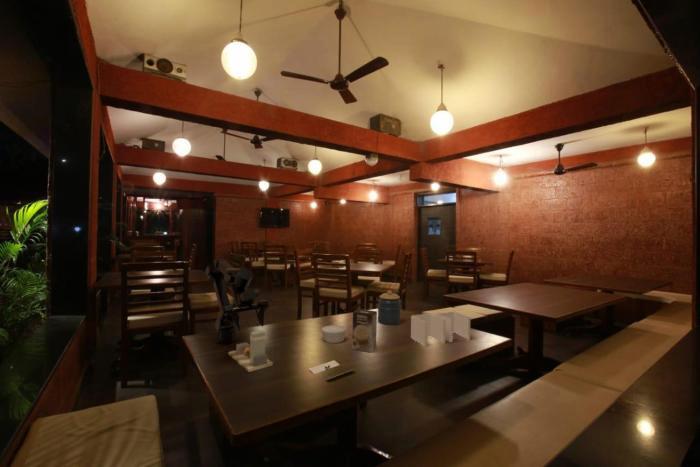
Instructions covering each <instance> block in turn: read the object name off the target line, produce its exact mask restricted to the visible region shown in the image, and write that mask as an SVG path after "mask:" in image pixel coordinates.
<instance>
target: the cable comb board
mask: <svg viewBox="0 0 700 467" xmlns="http://www.w3.org/2000/svg"><path fill="white" fill-rule="evenodd" d="M228 356H230V357H231V358H232V359H233V360H235V361H236V362H237V363H238V365H240V366H241V367H242V368H244V369H245V370H246V371H248V373H250V372H253V371H258V370H261V369H264V368H267V367H271V366H273V364H274V362H273V361H272V360H270V359H268V358H267V364H264V365H260V366H257V367H253V364H252V363H250V355H248V356H245V355H244V354H239V353H237V352H236V350H235V349H234V350H231V351H228Z"/></svg>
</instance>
